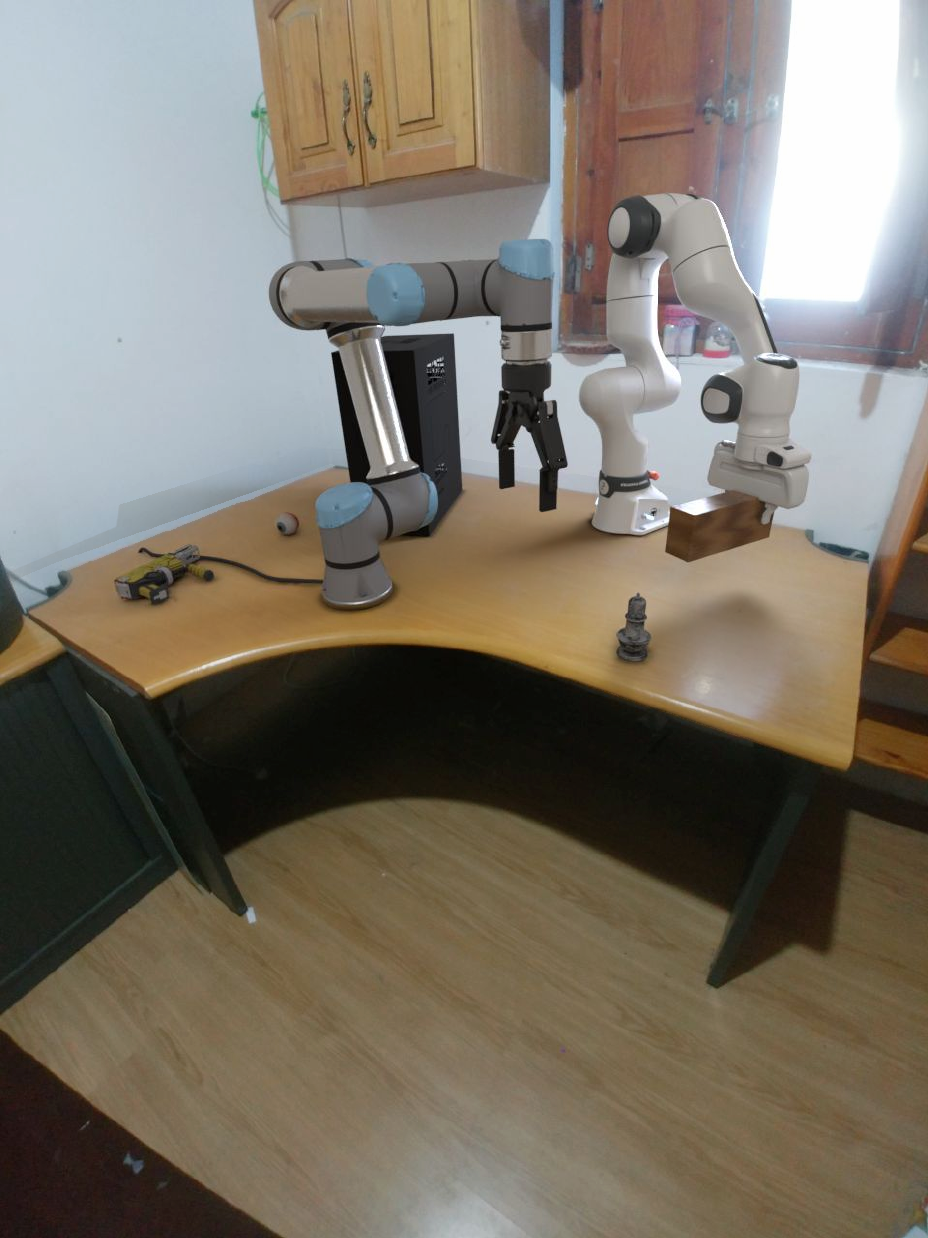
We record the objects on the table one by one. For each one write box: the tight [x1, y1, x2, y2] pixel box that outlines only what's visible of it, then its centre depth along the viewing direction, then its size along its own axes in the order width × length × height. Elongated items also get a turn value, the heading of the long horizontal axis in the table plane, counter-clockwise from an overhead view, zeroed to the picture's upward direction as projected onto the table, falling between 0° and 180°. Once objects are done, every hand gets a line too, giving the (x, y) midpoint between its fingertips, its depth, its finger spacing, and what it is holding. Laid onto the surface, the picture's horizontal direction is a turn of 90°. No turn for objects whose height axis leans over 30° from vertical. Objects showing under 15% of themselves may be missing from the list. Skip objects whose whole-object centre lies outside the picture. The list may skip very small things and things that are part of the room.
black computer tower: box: [330, 332, 463, 537], centre depth 165 cm, size 38×20×45 cm, turn 167°
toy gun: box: [113, 543, 215, 606], centre depth 141 cm, size 5×24×15 cm
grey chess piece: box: [616, 592, 652, 662], centre depth 103 cm, size 6×6×12 cm
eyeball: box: [275, 511, 300, 536], centre depth 163 cm, size 6×6×6 cm
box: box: [664, 490, 775, 563], centre depth 118 cm, size 22×6×9 cm, turn 117°
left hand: (526, 498), depth 101 cm, fingers open, 13 cm apart
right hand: (747, 517), depth 121 cm, fingers closed on box, 6 cm apart
